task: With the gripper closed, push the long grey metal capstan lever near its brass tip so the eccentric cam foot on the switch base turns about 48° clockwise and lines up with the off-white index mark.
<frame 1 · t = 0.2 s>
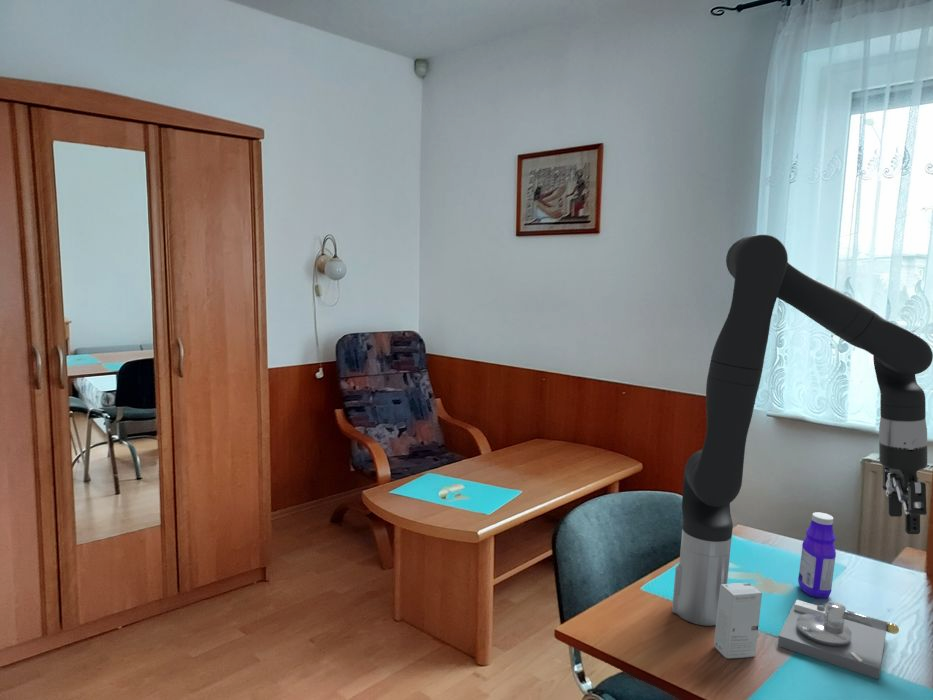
hand: (903, 524, 127), 22 cm above the table, tool pointing down, fingers open, 8 cm apart
bottle: (813, 592, 146), on the table
switch base: (830, 646, 125), on the table
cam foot: (845, 624, 123), point 5 cm above the table, hinge at 0.0°
skincare box: (734, 652, 122), on the table
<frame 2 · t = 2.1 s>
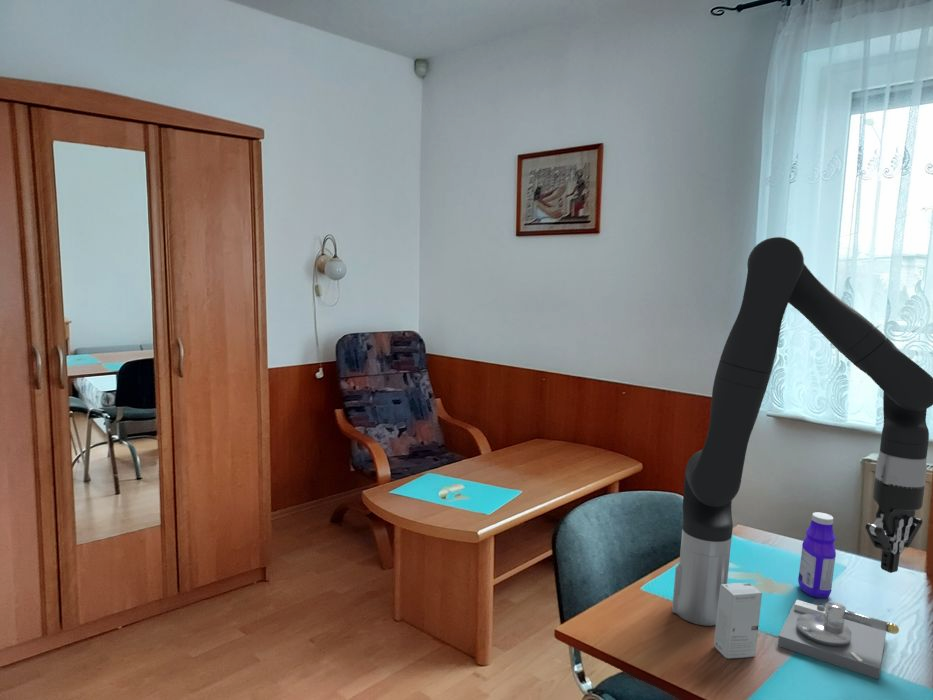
hand: (888, 570, 122), 16 cm above the table, tool pointing down, fingers closed
nothing on the table moved.
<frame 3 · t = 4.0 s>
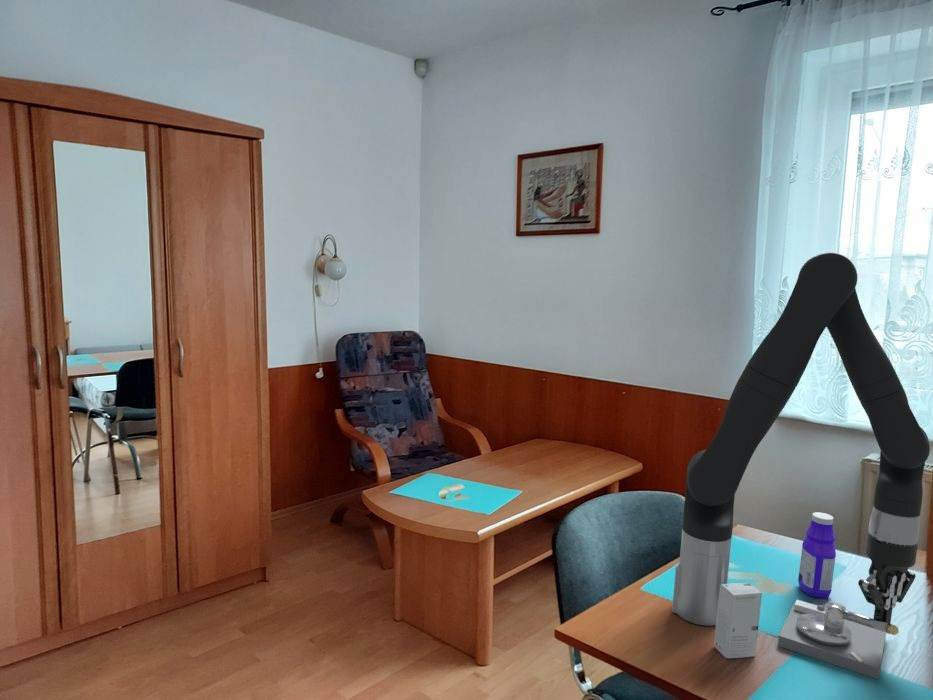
hand: (881, 625, 121), 6 cm above the table, tool pointing down, fingers closed
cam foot: (844, 624, 123), point 5 cm above the table, hinge at -2.9°, touching gripper
everything else where it was.
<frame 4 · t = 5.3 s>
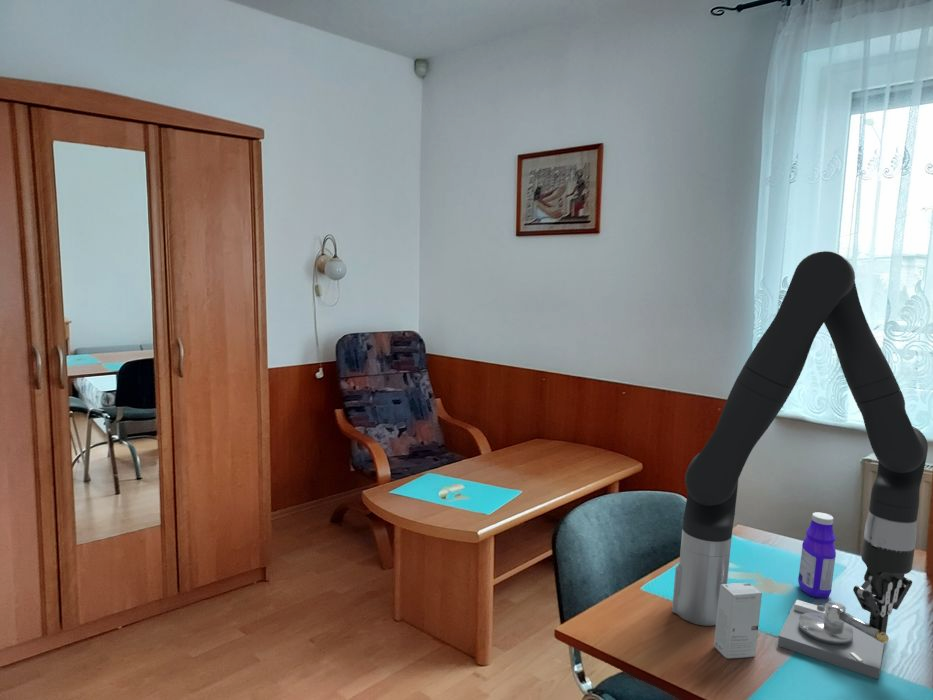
hand: (876, 632, 119), 6 cm above the table, tool pointing down, fingers closed
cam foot: (842, 625, 122), point 5 cm above the table, hinge at -30.8°, touching gripper
everything else where it was.
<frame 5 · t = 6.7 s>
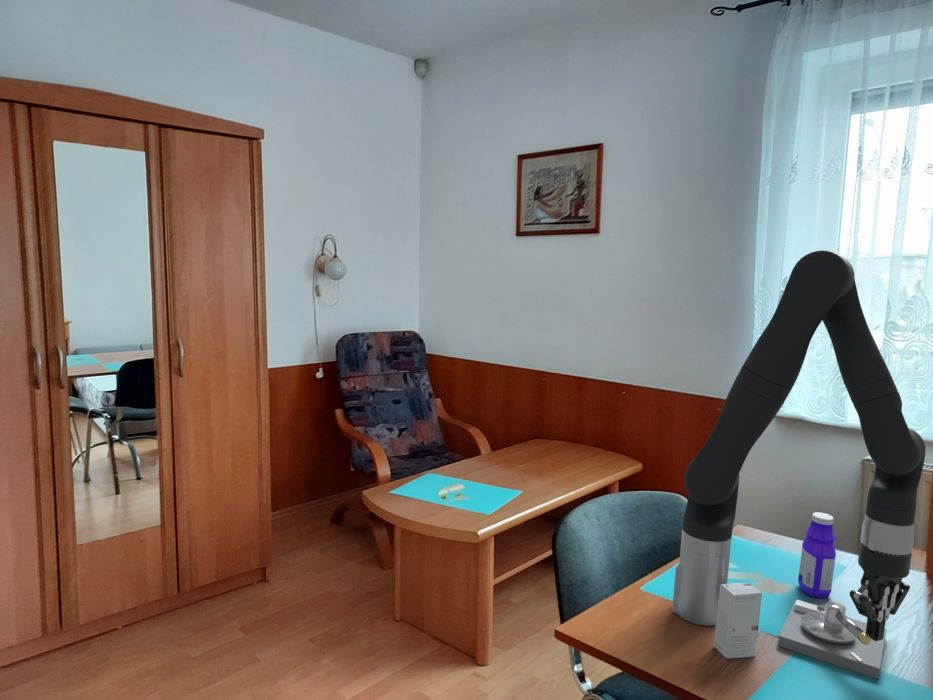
hand: (874, 638, 117), 6 cm above the table, tool pointing down, fingers closed
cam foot: (839, 625, 122), point 5 cm above the table, hinge at -53.3°
everything else where it was.
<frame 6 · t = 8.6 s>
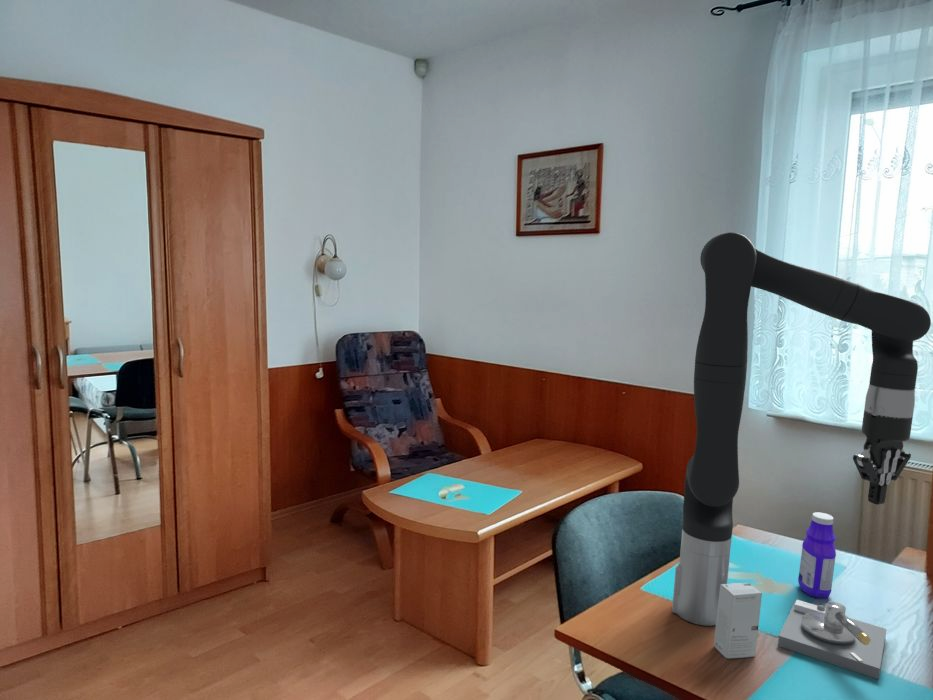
hand: (875, 502, 124), 27 cm above the table, tool pointing down, fingers closed
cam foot: (839, 625, 122), point 5 cm above the table, hinge at -53.9°
everything else where it was.
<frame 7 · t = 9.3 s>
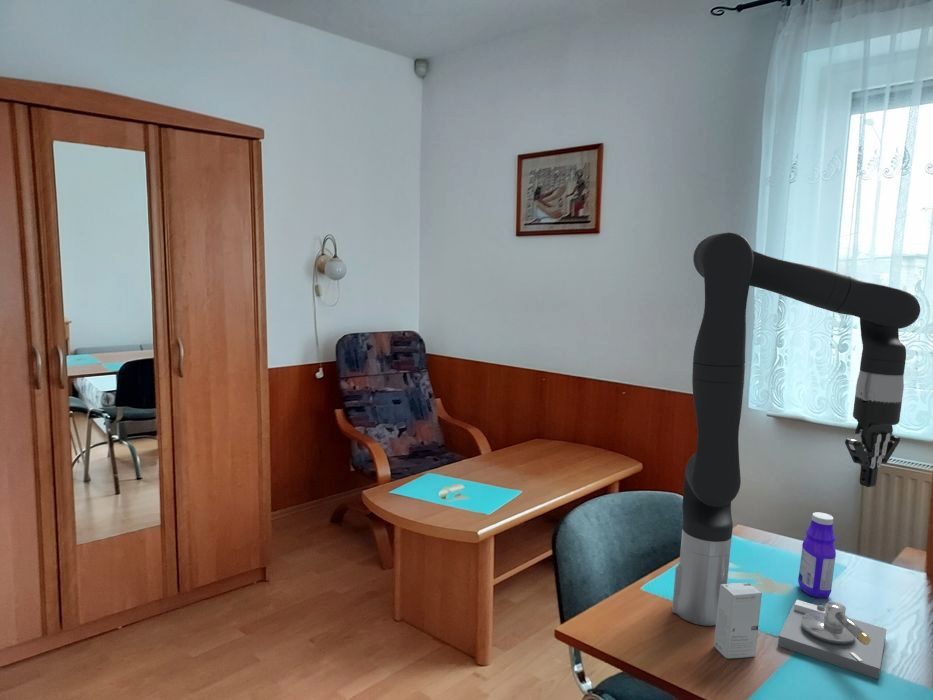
hand: (867, 485, 128), 29 cm above the table, tool pointing down, fingers closed
nothing on the table moved.
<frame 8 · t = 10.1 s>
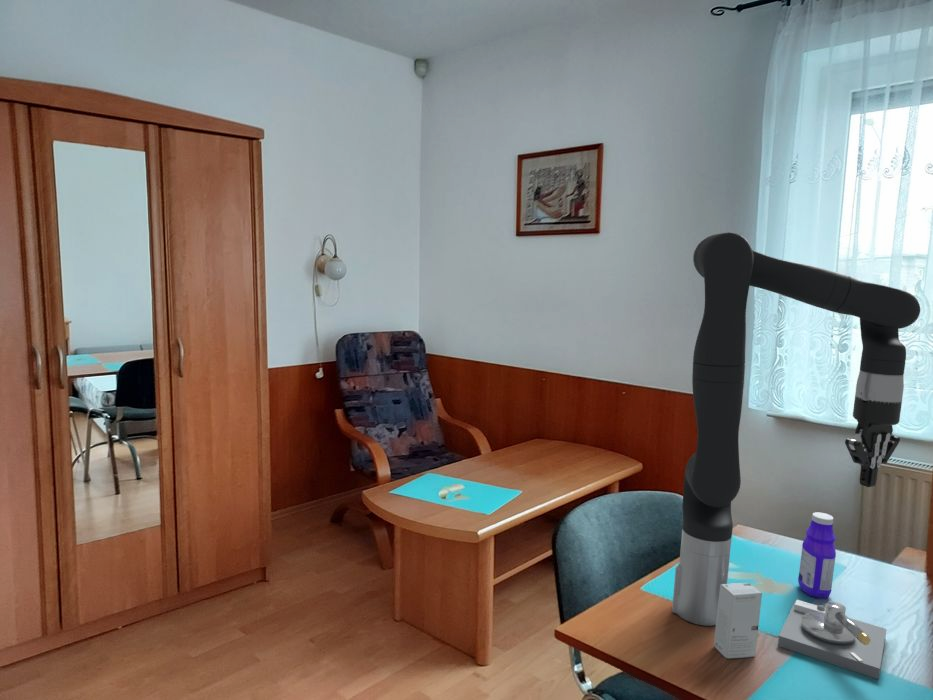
hand: (867, 485, 128), 29 cm above the table, tool pointing down, fingers closed
nothing on the table moved.
at the end: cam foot at -54° (first picture: +0°) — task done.
